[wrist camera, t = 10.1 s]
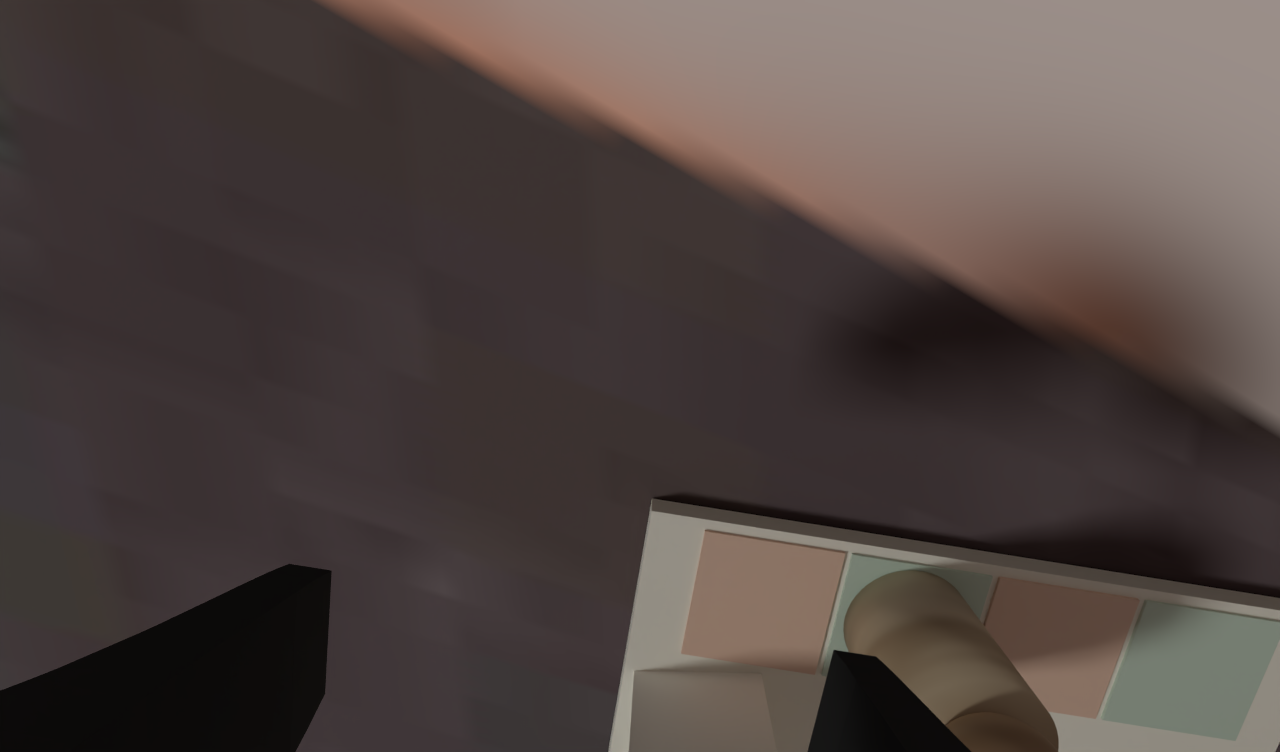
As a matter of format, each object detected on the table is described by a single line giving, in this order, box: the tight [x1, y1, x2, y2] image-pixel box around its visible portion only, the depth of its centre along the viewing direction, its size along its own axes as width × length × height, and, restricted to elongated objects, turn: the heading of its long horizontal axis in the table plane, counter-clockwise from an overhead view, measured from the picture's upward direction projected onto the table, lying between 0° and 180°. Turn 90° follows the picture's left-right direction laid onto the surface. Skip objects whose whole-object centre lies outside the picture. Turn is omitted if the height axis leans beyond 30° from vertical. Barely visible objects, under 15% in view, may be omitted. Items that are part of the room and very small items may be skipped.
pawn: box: [843, 570, 1059, 752], centre depth 17 cm, size 3×3×7 cm
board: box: [608, 499, 1280, 752], centre depth 21 cm, size 8×19×1 cm, turn 81°
